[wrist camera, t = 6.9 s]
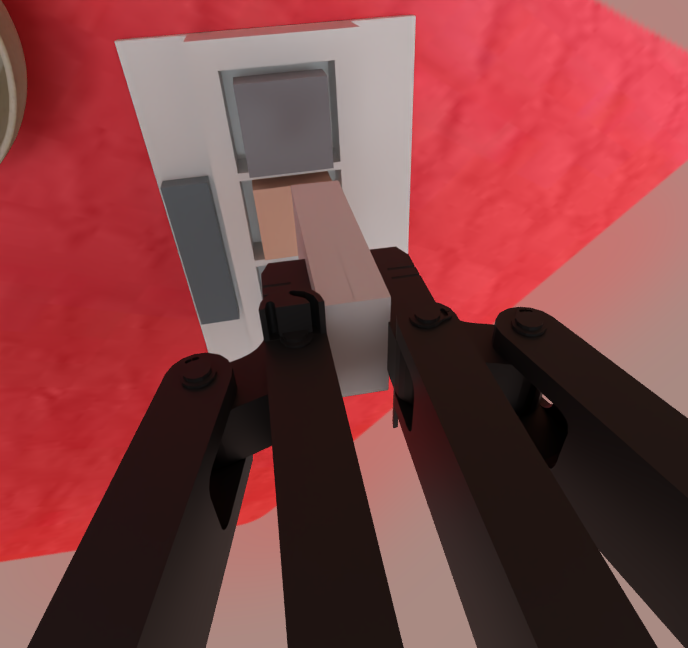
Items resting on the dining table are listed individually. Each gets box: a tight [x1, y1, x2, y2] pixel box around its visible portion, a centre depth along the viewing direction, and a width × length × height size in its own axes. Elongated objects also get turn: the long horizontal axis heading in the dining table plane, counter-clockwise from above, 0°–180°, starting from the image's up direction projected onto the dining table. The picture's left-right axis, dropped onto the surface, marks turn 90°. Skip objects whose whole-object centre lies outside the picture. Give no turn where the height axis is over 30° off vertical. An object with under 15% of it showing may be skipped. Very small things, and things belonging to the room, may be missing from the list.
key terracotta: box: [252, 171, 332, 260], centre depth 26 cm, size 4×4×2 cm
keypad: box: [114, 15, 416, 362], centre depth 28 cm, size 14×22×3 cm, turn 3°
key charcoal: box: [233, 69, 334, 178], centre depth 22 cm, size 4×4×2 cm
